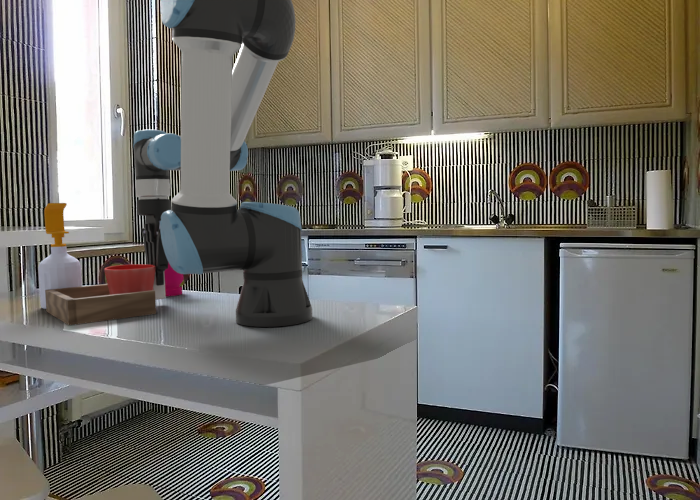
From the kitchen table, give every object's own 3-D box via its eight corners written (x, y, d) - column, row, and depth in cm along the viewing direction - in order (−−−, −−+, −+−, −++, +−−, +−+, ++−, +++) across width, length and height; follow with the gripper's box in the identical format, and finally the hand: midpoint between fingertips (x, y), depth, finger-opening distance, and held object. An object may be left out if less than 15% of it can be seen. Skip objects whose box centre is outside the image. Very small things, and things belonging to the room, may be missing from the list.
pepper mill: (166, 297, 151) (163, 219, 149) (150, 295, 155) (146, 219, 154) (189, 293, 157) (186, 218, 155) (173, 291, 161) (169, 218, 159)
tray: (156, 313, 128) (155, 290, 127) (69, 325, 117) (67, 300, 117) (125, 302, 144) (124, 282, 144) (46, 311, 134) (45, 289, 133)
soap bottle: (45, 311, 134) (39, 203, 132) (37, 306, 141) (30, 203, 139) (87, 306, 140) (81, 202, 138) (77, 302, 147) (71, 203, 145)
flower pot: (158, 310, 132) (156, 267, 131) (105, 314, 128) (103, 270, 127) (156, 303, 142) (154, 263, 141) (107, 307, 138) (105, 265, 137)
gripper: (180, 197, 134) (184, 300, 136) (159, 198, 144) (164, 293, 146) (146, 198, 130) (152, 304, 132) (128, 199, 140) (133, 297, 142)
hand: (158, 298), depth 139 cm, fingers closed
